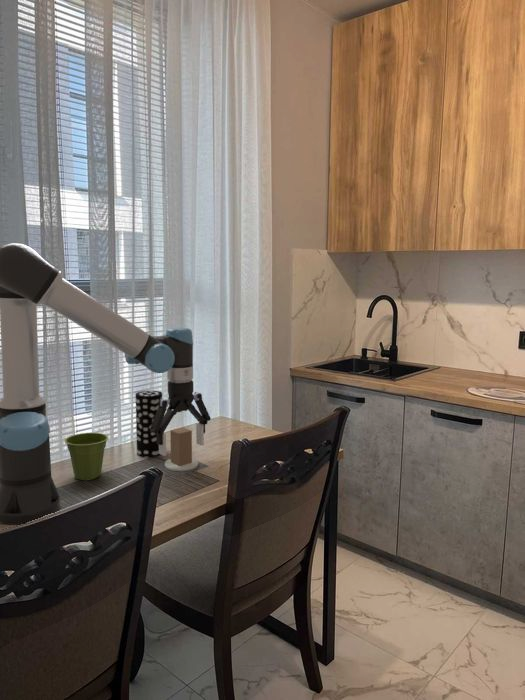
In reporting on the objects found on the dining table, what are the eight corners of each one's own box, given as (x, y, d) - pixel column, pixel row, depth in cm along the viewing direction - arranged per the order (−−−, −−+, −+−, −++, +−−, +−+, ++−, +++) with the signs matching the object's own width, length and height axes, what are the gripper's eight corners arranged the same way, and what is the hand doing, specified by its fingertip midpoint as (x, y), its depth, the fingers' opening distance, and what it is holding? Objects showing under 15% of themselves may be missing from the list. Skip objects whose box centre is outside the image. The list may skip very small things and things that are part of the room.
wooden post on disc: (177, 474, 154) (176, 437, 152) (158, 465, 161) (157, 430, 159) (204, 466, 161) (204, 430, 159) (185, 457, 168) (185, 423, 166)
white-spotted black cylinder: (166, 450, 175) (165, 391, 172) (159, 459, 167) (157, 397, 164) (141, 449, 176) (140, 390, 173) (133, 458, 168) (131, 396, 165)
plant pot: (116, 477, 153) (115, 439, 151) (76, 487, 145) (74, 447, 143) (99, 465, 161) (97, 429, 160) (59, 475, 154) (58, 437, 152)
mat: (176, 477, 153) (176, 476, 152) (153, 466, 161) (153, 465, 161) (209, 467, 161) (209, 466, 161) (186, 457, 169) (186, 455, 169)
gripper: (150, 388, 146) (152, 462, 149) (221, 376, 163) (222, 443, 166) (136, 384, 151) (138, 455, 154) (206, 372, 168) (207, 437, 171)
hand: (181, 449), depth 160 cm, fingers open, 13 cm apart
